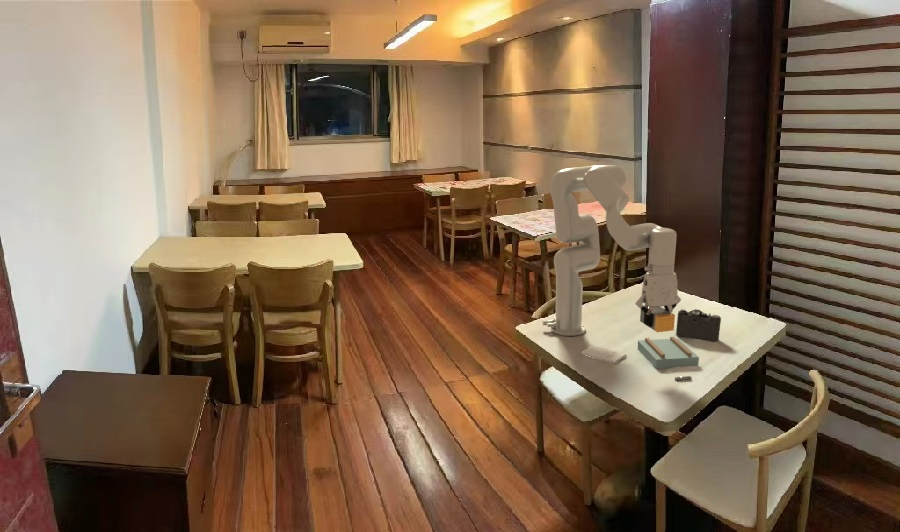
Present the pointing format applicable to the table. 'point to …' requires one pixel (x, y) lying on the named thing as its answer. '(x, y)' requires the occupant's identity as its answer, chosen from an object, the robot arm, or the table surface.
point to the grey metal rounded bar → (683, 378)
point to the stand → (667, 353)
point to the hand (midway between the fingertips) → (656, 323)
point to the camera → (698, 325)
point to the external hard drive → (603, 354)
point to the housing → (660, 319)
